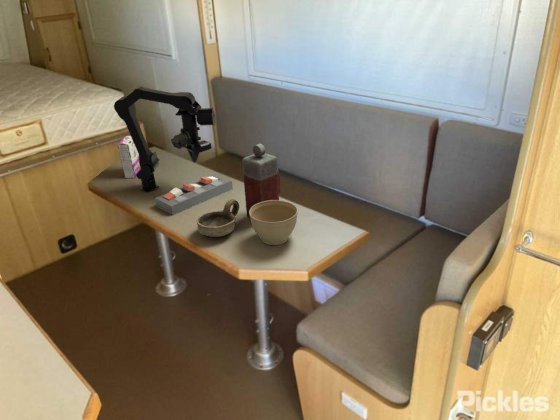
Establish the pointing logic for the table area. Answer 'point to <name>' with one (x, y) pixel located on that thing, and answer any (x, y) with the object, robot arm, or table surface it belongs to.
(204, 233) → the bowl
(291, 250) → the table surface
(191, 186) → the block
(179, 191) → the rocker
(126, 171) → the candy bar box
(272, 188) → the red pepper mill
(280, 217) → the planter bowl
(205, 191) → the power board
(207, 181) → the rocker
